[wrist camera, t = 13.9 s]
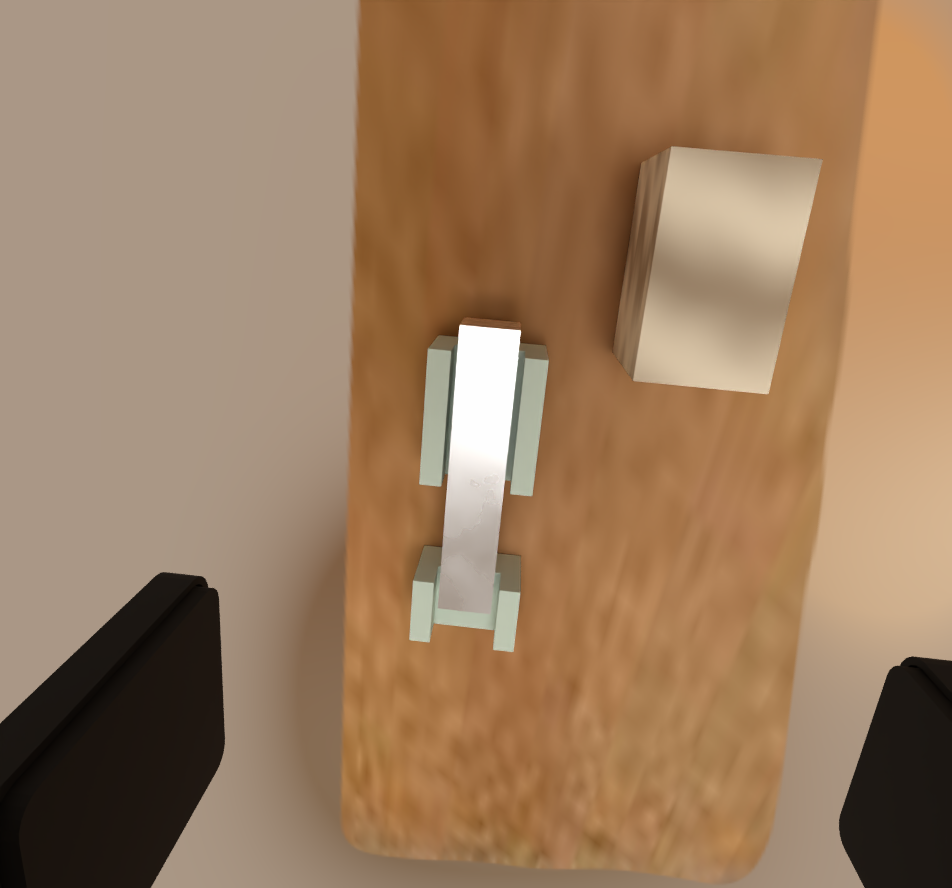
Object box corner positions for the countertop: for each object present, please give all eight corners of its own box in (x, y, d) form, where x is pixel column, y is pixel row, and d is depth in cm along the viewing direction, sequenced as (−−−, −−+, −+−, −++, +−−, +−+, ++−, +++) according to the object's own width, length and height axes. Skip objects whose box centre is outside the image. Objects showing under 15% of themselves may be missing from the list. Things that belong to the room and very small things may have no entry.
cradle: (438, 335, 38) (427, 348, 34) (546, 345, 38) (548, 360, 34) (420, 599, 44) (409, 639, 39) (514, 610, 43) (513, 652, 39)
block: (641, 162, 35) (671, 146, 28) (761, 173, 34) (822, 159, 27) (612, 352, 38) (632, 380, 31) (722, 362, 38) (768, 394, 30)
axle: (464, 317, 35) (459, 324, 32) (520, 322, 35) (520, 330, 32) (443, 581, 40) (437, 608, 38) (492, 586, 40) (490, 614, 37)
